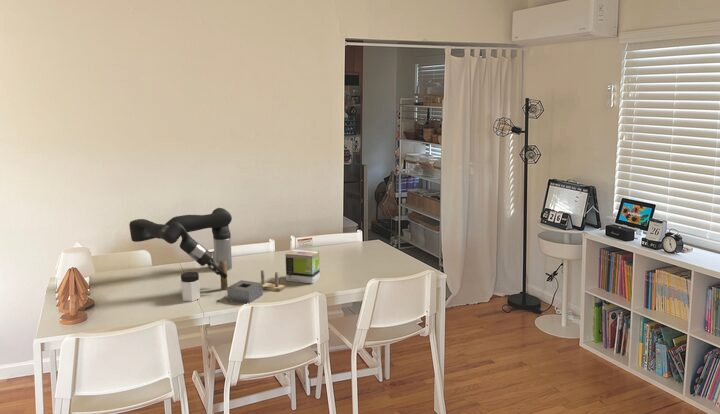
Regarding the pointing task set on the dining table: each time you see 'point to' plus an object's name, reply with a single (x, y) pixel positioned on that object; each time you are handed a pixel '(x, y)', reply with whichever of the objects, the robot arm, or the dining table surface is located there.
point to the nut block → (245, 291)
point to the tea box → (302, 266)
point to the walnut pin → (223, 281)
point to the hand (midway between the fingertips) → (225, 274)
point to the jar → (190, 286)
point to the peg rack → (271, 286)
